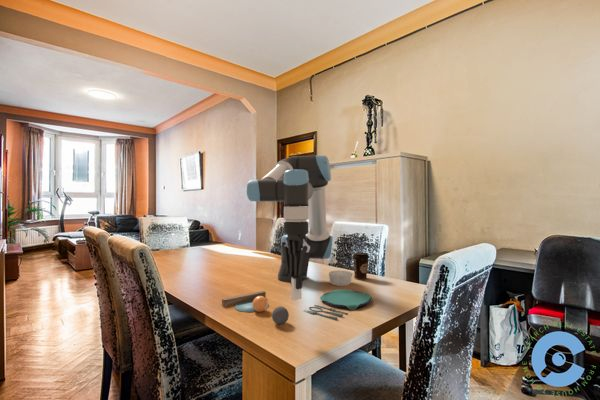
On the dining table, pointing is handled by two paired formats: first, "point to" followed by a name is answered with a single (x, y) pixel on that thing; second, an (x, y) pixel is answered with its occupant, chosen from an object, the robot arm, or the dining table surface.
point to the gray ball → (280, 315)
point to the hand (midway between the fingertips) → (296, 298)
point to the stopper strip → (242, 298)
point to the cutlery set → (341, 301)
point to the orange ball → (260, 303)
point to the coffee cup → (360, 265)
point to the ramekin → (340, 278)
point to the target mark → (246, 306)
